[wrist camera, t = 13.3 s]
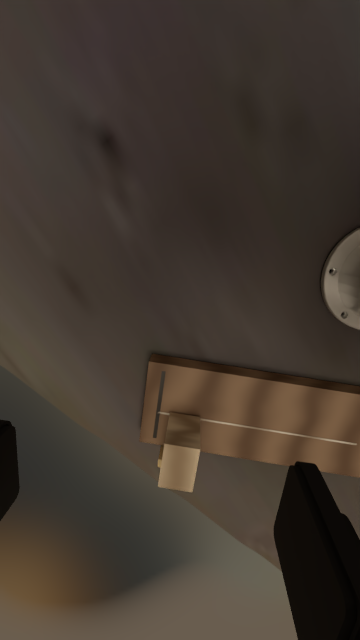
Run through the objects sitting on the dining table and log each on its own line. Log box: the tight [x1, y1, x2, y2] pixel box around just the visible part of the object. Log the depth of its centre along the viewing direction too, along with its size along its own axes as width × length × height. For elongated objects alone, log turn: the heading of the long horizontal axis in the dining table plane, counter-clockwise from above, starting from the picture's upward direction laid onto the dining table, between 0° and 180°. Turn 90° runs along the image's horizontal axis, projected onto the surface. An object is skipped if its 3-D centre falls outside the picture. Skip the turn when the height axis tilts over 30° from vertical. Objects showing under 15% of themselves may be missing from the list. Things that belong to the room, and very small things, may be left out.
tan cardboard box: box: [158, 412, 200, 492], centre depth 37 cm, size 5×7×8 cm
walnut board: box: [139, 354, 360, 478], centre depth 39 cm, size 30×12×3 cm, turn 82°
